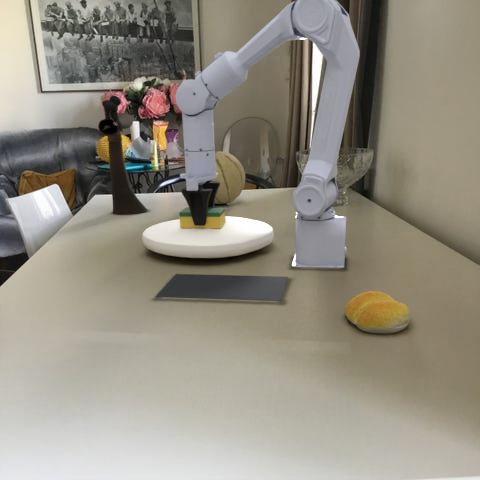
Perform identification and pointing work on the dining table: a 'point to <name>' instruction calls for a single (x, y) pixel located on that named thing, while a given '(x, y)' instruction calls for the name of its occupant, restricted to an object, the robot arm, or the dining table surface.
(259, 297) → the sponge mat
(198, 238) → the plate
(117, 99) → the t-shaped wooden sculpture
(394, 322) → the bread roll
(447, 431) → the dining table surface
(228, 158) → the cantaloupe
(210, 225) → the sponge
